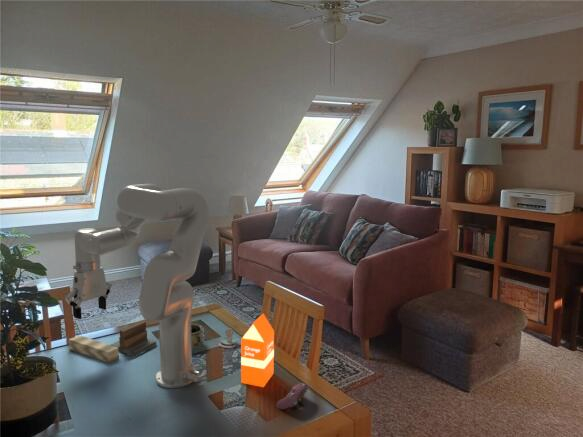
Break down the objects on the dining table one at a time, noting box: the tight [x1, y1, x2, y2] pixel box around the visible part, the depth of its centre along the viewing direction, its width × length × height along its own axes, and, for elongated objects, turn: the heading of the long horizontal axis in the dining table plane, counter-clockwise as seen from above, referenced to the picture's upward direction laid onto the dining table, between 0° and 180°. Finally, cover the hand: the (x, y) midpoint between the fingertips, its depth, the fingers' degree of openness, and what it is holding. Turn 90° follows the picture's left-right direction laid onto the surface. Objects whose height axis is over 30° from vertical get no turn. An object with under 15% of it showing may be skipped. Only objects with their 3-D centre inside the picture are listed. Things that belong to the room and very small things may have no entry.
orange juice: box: [240, 313, 275, 388], centre depth 137 cm, size 8×9×20 cm
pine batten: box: [68, 334, 120, 364], centre depth 152 cm, size 20×4×4 cm, turn 63°
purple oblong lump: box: [276, 381, 310, 410], centre depth 125 cm, size 10×5×7 cm, turn 148°
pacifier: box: [218, 327, 240, 349], centre depth 160 cm, size 7×6×6 cm
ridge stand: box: [110, 320, 157, 357], centre depth 157 cm, size 12×10×8 cm
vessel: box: [191, 323, 203, 350], centre depth 160 cm, size 12×9×6 cm
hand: (90, 313), depth 150 cm, fingers open, 9 cm apart
